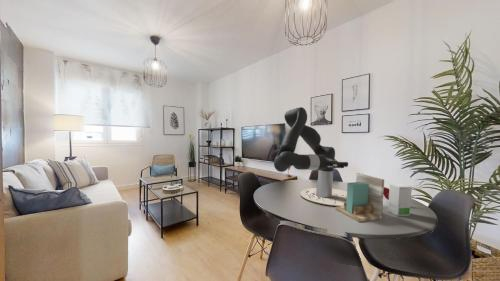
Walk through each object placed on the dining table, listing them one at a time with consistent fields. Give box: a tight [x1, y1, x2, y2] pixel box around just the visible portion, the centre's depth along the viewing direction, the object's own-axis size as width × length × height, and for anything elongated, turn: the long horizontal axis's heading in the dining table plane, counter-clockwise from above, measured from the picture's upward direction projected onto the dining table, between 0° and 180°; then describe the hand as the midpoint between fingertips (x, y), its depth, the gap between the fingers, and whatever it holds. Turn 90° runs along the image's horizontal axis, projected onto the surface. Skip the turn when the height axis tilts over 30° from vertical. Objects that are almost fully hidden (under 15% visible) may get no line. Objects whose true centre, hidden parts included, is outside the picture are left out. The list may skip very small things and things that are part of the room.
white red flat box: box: [383, 186, 414, 201], centre depth 125 cm, size 3×18×10 cm, turn 69°
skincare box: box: [387, 183, 413, 217], centre depth 111 cm, size 8×7×16 cm
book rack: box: [334, 172, 385, 223], centre depth 109 cm, size 15×16×20 cm
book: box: [345, 181, 369, 214], centre depth 109 cm, size 10×4×15 cm, turn 107°
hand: (341, 162), depth 104 cm, fingers open, 8 cm apart
